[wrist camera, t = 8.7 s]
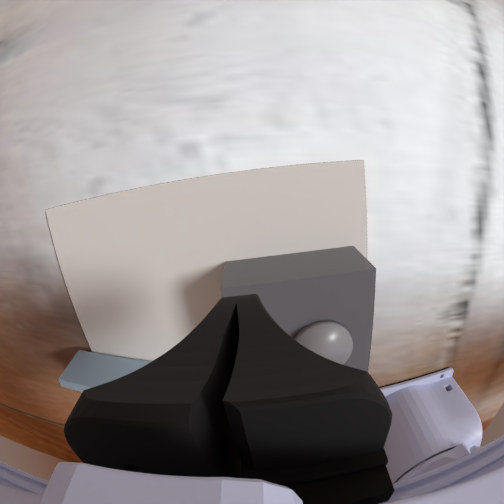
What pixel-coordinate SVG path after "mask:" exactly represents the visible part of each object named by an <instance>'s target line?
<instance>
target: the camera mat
mask: <svg viewBox="0 0 504 504" xmlns="http://www.w3.org/2000/svg"><path fill="white" fill-rule="evenodd" d="M46 215H47V219H48V223H49V228H50V232H51V236H52V239H53V243H54V247H55V250H56V254H57V257H58V261H59V264H60V268H61V271H62V274H63V277H64V280H65V283H66V286H67V289H68V292H69V295H70V298H71V301H72V303H73V306H74V309H75V311H76V314H77V317H78V319H79V322H80V324H81V327H82V329H83V332H84V334H85V337H86V339H87V341H88V344H89V346H90V348H91V351H92V352H93V353H98V354H104V355H110V356H116V357H122V358H128V359H135V360H142V361H150V362H152V361H153V360H155V359H157V358H158V357H160V356H161V355H163V354H165V353H166V352H167V351H169V350H170V349H171V348H173V347H174V346H175V345H177V344H178V343H179V342H180V341H182V340H183V339H184V338H185V337H186V336H187V335H188V334H189V333H190V332H191V331H192V330H193V329H194V328H195V327H196V326H197V325H198V324H199V323H200V322H201V321H202V320H203V319H204V318H205V317H206V316H207V314H208V313H209V312H210V311H211V310H212V308H213V307H214V306H215V305H216V304H217V302H218V301H219V300H220V299H221V298H222V296H221V290H220V287H221V282H222V277H223V271H224V266H225V261H233V260H241V259H250V258H258V257H266V256H274V255H282V254H290V253H299V252H307V251H315V250H323V249H331V248H339V247H346V246H354V247H355V248H356V249H357V250H358V251H359V252H360V253H361V254H362V255H363V256H364V257H365V258H366V259H367V207H366V185H365V169H364V160H352V161H337V162H323V163H311V164H300V165H289V166H280V167H270V168H262V169H253V170H245V171H238V172H230V173H223V174H216V175H210V176H203V177H197V178H190V179H184V180H178V181H173V182H167V183H162V184H156V185H151V186H146V187H140V188H135V189H131V190H126V191H121V192H116V193H112V194H107V195H103V196H98V197H94V198H89V199H85V200H81V201H77V202H73V203H69V204H65V205H61V206H57V207H53V208H50V209H47V210H46Z"/></svg>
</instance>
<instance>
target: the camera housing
mask: <svg viewBox="0 0 504 504" xmlns="http://www.w3.org/2000/svg"><path fill="white" fill-rule="evenodd" d="M375 278H376V268H375V267H374V266H373V265H372V264H371V263H370V262H369V261H368V260H367V259H366V258H365V257H364V256H363V255H362V254H361V253H360V252H359V251H358V250H357V249H356V248H355V247H354V246H346V247H339V248H331V249H323V250H315V251H307V252H299V253H290V254H282V255H274V256H266V257H258V258H250V259H241V260H233V261H225V266H224V271H223V277H222V282H221V287H220V290H221V296H222V297H231V296H240V295H249V294H257V295H258V296H259V297H260V300H261V302H262V304H263V306H264V307H265V309H266V310H267V312H268V313H269V314H270V316H271V317H272V318H273V319H274V321H275V322H276V323H277V324H278V325H279V326H280V327H281V328H282V329H283V330H284V331H285V332H286V333H287V334H288V335H290V336H291V337H292V338H293V339H294V340H296V341H297V342H298V343H300V344H301V345H303V346H304V347H306V348H307V349H309V350H311V351H313V352H314V353H316V354H318V355H320V356H322V357H324V358H327V359H329V360H332V361H334V362H337V363H339V364H342V365H346V366H349V367H353V368H356V369H360V370H363V371H367V372H368V367H369V358H370V349H371V339H372V328H373V315H374V299H375Z"/></svg>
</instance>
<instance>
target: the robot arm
mask: <svg viewBox="0 0 504 504" xmlns="http://www.w3.org/2000/svg"><path fill="white" fill-rule="evenodd" d="M452 375H453V369H452V368H447V369H444V370H441V371H438V372H435V373H432V374H429V375H426V376H423V377H419V378H416V379H412V380H409V381H405V382H402V383H398V384H394V385H390V386H386V387H382V388H379V387H378V385H377V384H376V383H375V381H374V380H373V378H372V377H371V376H370V374H369V373H368V372H367V371H363V370H360V369H356V368H353V367H349V366H346V365H342V364H339V363H337V362H334V361H332V360H329V359H327V358H324V357H322V356H320V355H318V354H316V353H314V352H313V351H311V350H309V349H307V348H306V347H304V346H303V345H301V344H300V343H298V342H297V341H296V340H294V339H293V338H292V337H291V336H290V335H288V334H287V333H286V332H285V331H284V330H283V329H282V328H281V327H280V326H279V325H278V324H277V323H276V322H275V321H274V319H273V318H272V317H271V316H270V314H269V313H268V312H267V310H266V309H265V307H264V306H263V304H262V302H261V300H260V297H259V296H258V295H257V294H249V295H240V296H231V297H222V298H221V299H220V300H219V301H218V302H217V304H216V305H215V306H214V307H213V308H212V310H211V311H210V312H209V313H208V314H207V316H206V317H205V318H204V319H203V320H202V321H201V322H200V323H199V324H198V325H197V326H196V327H195V328H194V329H193V330H192V331H191V332H190V333H189V334H188V335H187V336H186V337H185V338H184V339H183V340H182V341H180V342H179V343H178V344H177V345H175V346H174V347H173V348H171V349H170V350H169V351H167V352H166V353H165V354H163V355H161V356H160V357H158V358H157V359H155V360H153V361H152V362H150V363H148V364H147V365H145V366H143V367H142V368H140V369H138V370H136V371H134V372H132V373H129V374H127V375H125V376H123V377H120V378H118V379H116V380H113V381H110V382H107V383H104V384H101V385H98V386H95V387H92V388H89V389H86V390H84V391H83V392H82V394H81V396H80V398H79V399H78V401H77V403H76V405H75V407H74V408H73V410H72V412H71V414H70V416H69V418H68V420H67V421H66V423H65V427H64V433H65V437H66V440H67V442H68V443H69V445H70V446H71V448H72V449H73V451H74V452H75V453H76V454H77V456H78V457H79V458H80V459H81V460H82V462H83V463H74V462H60V463H58V464H57V465H56V467H55V469H54V470H53V472H52V475H51V477H50V479H49V481H47V480H44V479H42V478H39V477H36V476H34V475H31V474H28V473H26V472H23V471H21V470H19V469H16V468H14V467H12V466H9V465H7V464H5V463H3V462H0V504H504V435H503V436H502V437H500V438H498V439H496V440H495V441H493V442H491V443H489V444H487V445H485V446H484V447H480V444H481V440H482V425H481V420H480V417H479V415H478V413H477V411H476V410H475V408H474V407H473V405H472V404H471V402H470V401H469V400H468V398H467V397H466V395H465V394H464V393H463V391H462V390H461V388H460V387H459V386H458V384H457V383H456V381H455V380H454V379H453V377H452Z"/></svg>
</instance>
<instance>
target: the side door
mask: <svg viewBox="0 0 504 504" xmlns="http://www.w3.org/2000/svg"><path fill="white" fill-rule="evenodd" d="M148 363H150V361H142V360H135V359H128V358H122V357H116V356H110V355H104V354H98V353H93V352H87V351H82V350H78V352H77V353H76V354H75V356H74V357H73V359H72V360H71V362H70V363H69V364H68V366H67V367H66V369H65V370H64V372H63V373H62V375H61V376H60V378H59V382H60V384H61V387H65V388H68V389H72V390H76V391H80V392H83V391H84V390H86V389H89V388H92V387H95V386H98V385H101V384H104V383H107V382H110V381H113V380H116V379H118V378H120V377H123V376H125V375H127V374H129V373H132V372H134V371H136V370H138V369H140V368H142V367H143V366H145V365H147V364H148Z"/></svg>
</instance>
